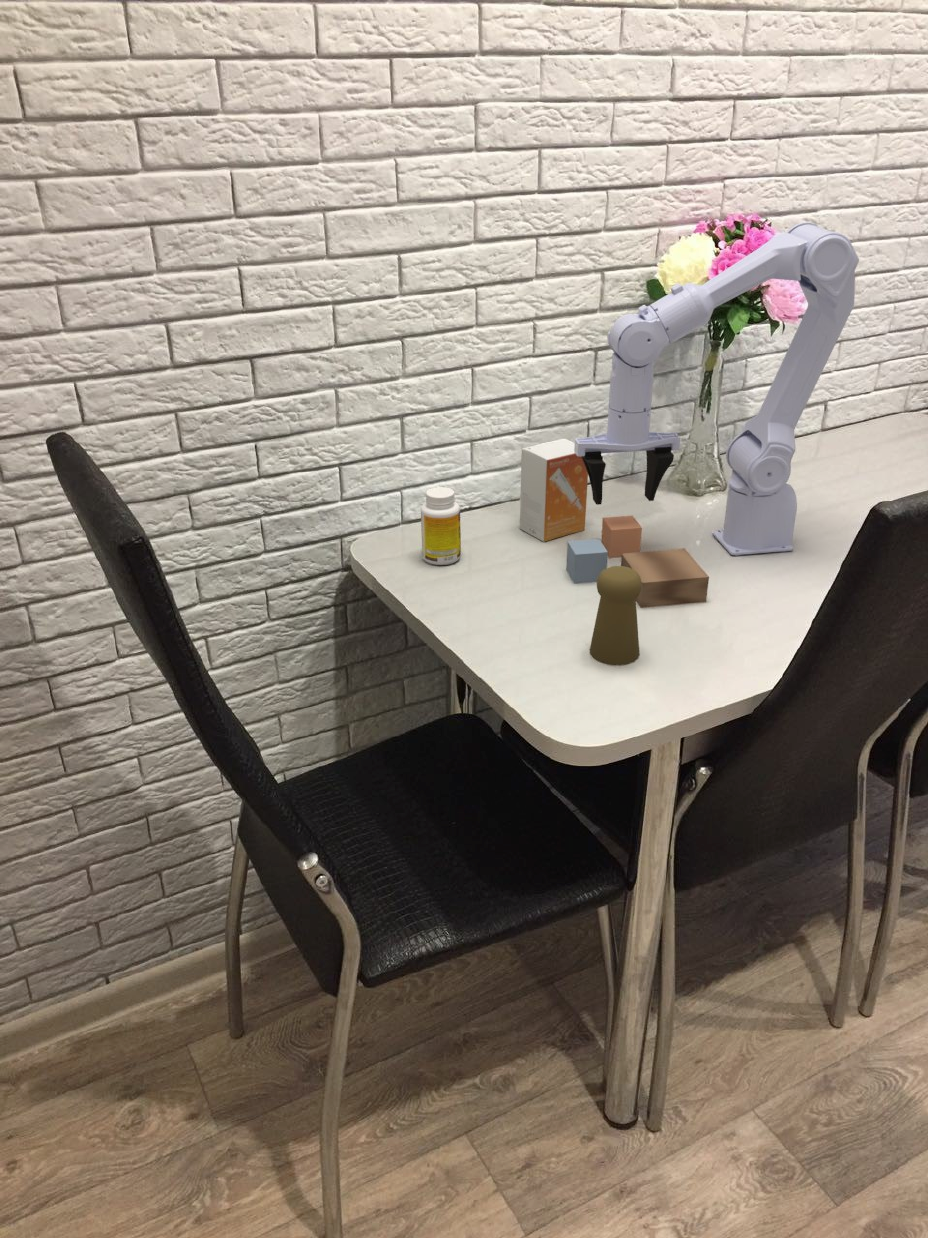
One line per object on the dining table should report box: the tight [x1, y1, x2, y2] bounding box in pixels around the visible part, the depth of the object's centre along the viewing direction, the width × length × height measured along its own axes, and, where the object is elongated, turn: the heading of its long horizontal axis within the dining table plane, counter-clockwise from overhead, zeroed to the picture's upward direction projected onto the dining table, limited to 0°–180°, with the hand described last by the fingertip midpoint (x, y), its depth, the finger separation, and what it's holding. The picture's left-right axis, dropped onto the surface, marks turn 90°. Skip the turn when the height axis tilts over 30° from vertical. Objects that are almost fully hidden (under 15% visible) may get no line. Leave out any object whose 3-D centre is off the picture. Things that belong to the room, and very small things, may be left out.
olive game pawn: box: [589, 565, 642, 666], centre depth 122 cm, size 6×6×11 cm
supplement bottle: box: [420, 486, 462, 566], centre depth 146 cm, size 6×6×10 cm
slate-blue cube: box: [565, 538, 609, 585], centre depth 143 cm, size 4×4×4 cm
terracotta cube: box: [600, 515, 643, 559], centre depth 149 cm, size 4×4×4 cm
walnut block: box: [620, 548, 710, 609], centre depth 139 cm, size 9×9×4 cm
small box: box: [519, 437, 589, 542], centre depth 154 cm, size 8×6×13 cm
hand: (623, 500), depth 147 cm, fingers open, 7 cm apart
